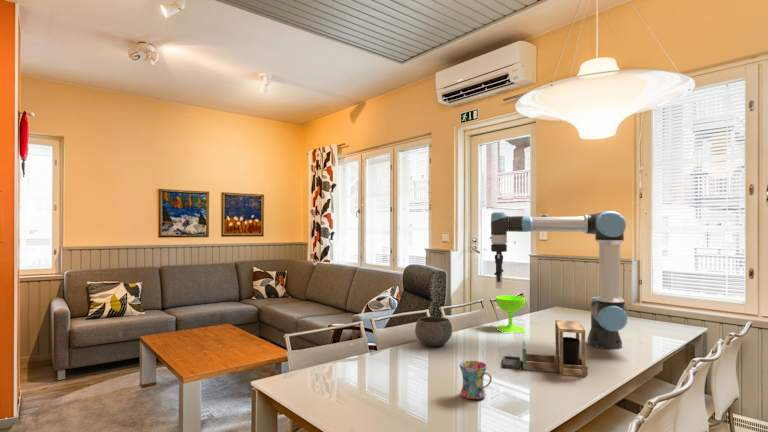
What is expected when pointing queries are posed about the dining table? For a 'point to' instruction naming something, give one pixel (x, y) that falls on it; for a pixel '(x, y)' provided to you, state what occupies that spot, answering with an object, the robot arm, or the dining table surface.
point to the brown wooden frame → (559, 329)
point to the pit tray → (511, 362)
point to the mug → (473, 379)
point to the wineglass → (510, 311)
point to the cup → (570, 350)
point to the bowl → (433, 330)
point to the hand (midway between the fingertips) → (499, 286)
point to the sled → (546, 362)
